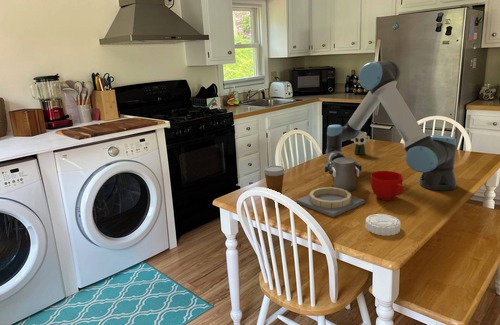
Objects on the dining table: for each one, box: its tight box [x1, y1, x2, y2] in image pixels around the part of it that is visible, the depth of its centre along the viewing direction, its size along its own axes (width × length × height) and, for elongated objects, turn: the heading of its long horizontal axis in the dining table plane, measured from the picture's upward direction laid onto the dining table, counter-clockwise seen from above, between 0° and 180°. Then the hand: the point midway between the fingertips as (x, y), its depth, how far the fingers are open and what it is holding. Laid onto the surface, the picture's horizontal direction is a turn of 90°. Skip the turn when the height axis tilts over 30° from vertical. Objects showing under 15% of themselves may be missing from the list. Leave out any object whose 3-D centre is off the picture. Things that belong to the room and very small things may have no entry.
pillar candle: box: [333, 156, 357, 193], centre depth 175 cm, size 10×10×15 cm
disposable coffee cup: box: [263, 165, 286, 193], centre depth 174 cm, size 10×10×12 cm
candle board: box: [295, 186, 365, 218], centre depth 161 cm, size 20×20×4 cm
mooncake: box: [364, 213, 401, 237], centre depth 137 cm, size 12×12×4 cm
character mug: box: [350, 131, 371, 155], centre depth 230 cm, size 11×7×13 cm, turn 67°
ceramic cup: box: [370, 170, 404, 201], centre depth 161 cm, size 13×17×10 cm
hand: (346, 173), depth 171 cm, fingers closed on pillar candle, 9 cm apart
